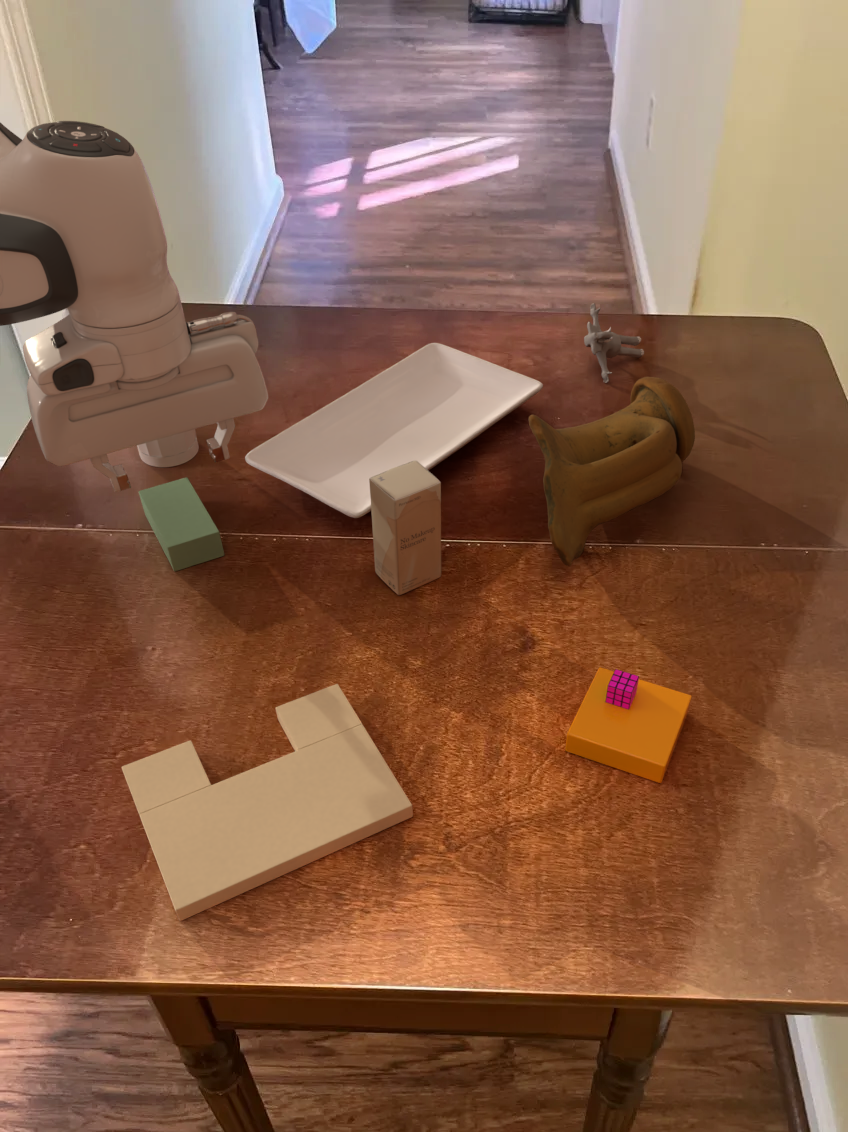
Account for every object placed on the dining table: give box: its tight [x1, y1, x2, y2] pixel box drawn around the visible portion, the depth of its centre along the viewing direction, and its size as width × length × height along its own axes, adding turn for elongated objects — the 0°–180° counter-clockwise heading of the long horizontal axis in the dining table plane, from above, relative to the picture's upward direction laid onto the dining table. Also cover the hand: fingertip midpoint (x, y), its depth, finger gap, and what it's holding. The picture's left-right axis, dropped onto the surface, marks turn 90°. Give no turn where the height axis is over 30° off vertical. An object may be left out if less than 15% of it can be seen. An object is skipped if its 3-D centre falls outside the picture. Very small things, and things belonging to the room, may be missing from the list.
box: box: [369, 460, 442, 596], centre depth 90 cm, size 5×4×11 cm
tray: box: [244, 342, 544, 519], centre depth 108 cm, size 17×32×4 cm, turn 142°
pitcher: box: [528, 376, 696, 567], centre depth 97 cm, size 18×13×22 cm
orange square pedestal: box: [564, 666, 693, 784], centre depth 79 cm, size 8×8×4 cm
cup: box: [136, 429, 200, 468], centre depth 103 cm, size 8×8×12 cm
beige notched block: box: [121, 683, 414, 922], centre depth 75 cm, size 18×14×2 cm
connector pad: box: [137, 476, 225, 572], centre depth 96 cm, size 10×5×3 cm, turn 29°
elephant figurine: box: [583, 302, 645, 384], centre depth 120 cm, size 10×6×9 cm
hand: (171, 472), depth 92 cm, fingers open, 8 cm apart
